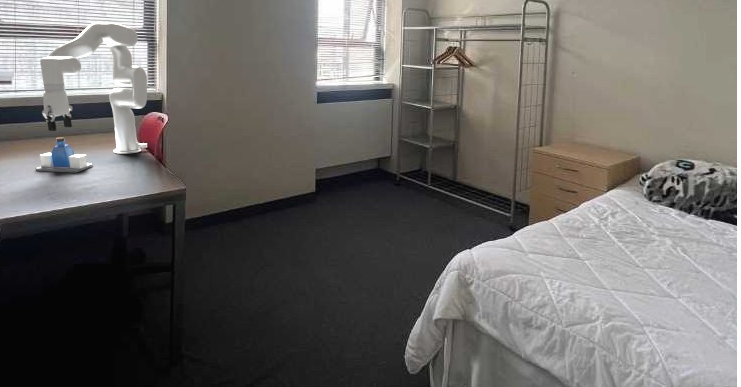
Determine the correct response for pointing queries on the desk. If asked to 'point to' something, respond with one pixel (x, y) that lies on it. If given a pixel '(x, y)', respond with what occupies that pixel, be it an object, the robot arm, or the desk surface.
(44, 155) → the module rail
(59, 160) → the perfume bottle
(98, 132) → the desk surface
